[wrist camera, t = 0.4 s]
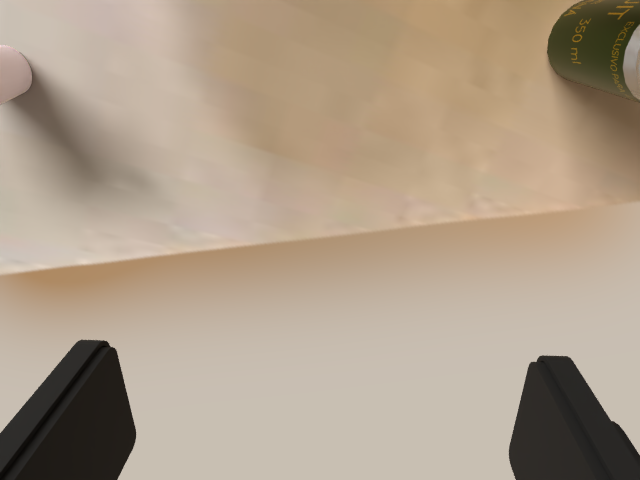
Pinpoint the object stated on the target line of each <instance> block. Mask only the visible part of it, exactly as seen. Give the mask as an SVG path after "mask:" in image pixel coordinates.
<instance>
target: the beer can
mask: <svg viewBox="0 0 640 480" xmlns="http://www.w3.org/2000/svg"><path fill="white" fill-rule="evenodd" d="M547 53H548V57H549V61H550V64H551V66H552V67H553V69H554V70H555V72H556V73H557V74H559V75H560V76H562V77H563V78H565V79H567V80H570V81H573V82H576V83H580V84H583V85H586V86H589V87H592V88H595V89H599V90H602V91H605V92H608V93H611V94H614V95H618V96H621V97H624V98H627V99H630V100H634V101H637V102H640V0H583V1H581V2H579V3H577V4H574V5H573V6H571V7H570V8H569V9H568V10H567V11H565V12H564V13H563V14H562V15H561V16H560V18H559V19H558V21H557V22H556V23H555V25H554V26H553V29H552V31H551V34H550V36H549V39H548V50H547Z"/></svg>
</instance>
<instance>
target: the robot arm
mask: <svg viewBox="0 0 640 480" xmlns="http://www.w3.org/2000/svg"><path fill="white" fill-rule="evenodd" d="M135 439H136V429H135V425H134V421H133V417H132V413H131V409H130V405H129V400H128V396H127V392H126V388H125V384H124V379H123V375H122V372H121V367H120V363H119V359H118V355H117V351H116V349H115V348H113V347H110V345H109V343H108V342H107V341H100V340H99V341H98V340H80V341H78V342H77V343H76V344H75V345H74V346H73V347H72V348H71V350H70V351H69V352H68V353H67V354H66V356H65V357H64V358H63V359H62V360H61V362H60V363H59V364H58V365H57V366H56V368H55V369H54V370H53V371H52V372H51V374H50V375H49V376H48V377H47V378H46V380H45V381H44V382H43V383H42V384H41V386H40V387H39V388H38V389H37V390H36V391H35V393H34V394H33V395H32V396H31V397H30V399H29V400H28V401H27V402H26V403H25V405H24V406H23V407H22V408H21V409H20V411H19V412H18V413H17V414H16V415H15V416H14V418H13V419H12V420H11V421H10V423H9V424H8V425H7V426H6V427H5V428H4V430H3V431H2V432H1V433H0V480H117V479H118V477H119V475H120V473H121V471H122V469H123V467H124V465H125V463H126V461H127V459H128V457H129V455H130V453H131V451H132V449H133V446H134V443H135ZM509 459H510V464H511V467H512V470H513V473H514V476H515V479H516V480H640V455H639V454H638V452H637V451H636V449H635V447H634V446H633V445H632V443H631V441H630V440H629V438H628V437H627V435H626V434H625V432H624V431H623V430H622V429H621V427H620V426H619V425H618V424H616V423H615V422H613V421H611V420H610V419H609V417H608V415H607V414H606V412H605V411H604V409H603V408H602V406H601V405H600V403H599V401H598V400H597V398H596V397H595V395H594V394H593V392H592V390H591V389H590V387H589V386H588V384H587V383H586V381H585V380H584V378H583V376H582V375H581V374H580V372H579V370H578V369H577V367H576V365H575V364H574V362H573V361H572V360H571V358H569V357H567V356H540V357H539V358H538V359H537V362H531V363H530V364H529V367H528V371H527V375H526V380H525V384H524V388H523V392H522V396H521V401H520V405H519V409H518V413H517V417H516V421H515V426H514V430H513V434H512V439H511V442H510V447H509Z"/></svg>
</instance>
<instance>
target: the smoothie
mask: <svg viewBox="0 0 640 480" xmlns="http://www.w3.org/2000/svg"><path fill="white" fill-rule="evenodd" d="M31 83H32V71H31V68H30V66H29V63H28V62H27V60H26V59H25V57H24V56H23V55H22V54H21V53H20V52H18V51H17V50H16V49H14V48H12V47H9V46H6V45H0V105H1V104H3V103H5V102H7V101H9V100H11V99H13V98H15V97H17V96H19V95H21V94H23V93H25V92H26V91H27V90H28V89H29V88H30V86H31Z"/></svg>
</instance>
